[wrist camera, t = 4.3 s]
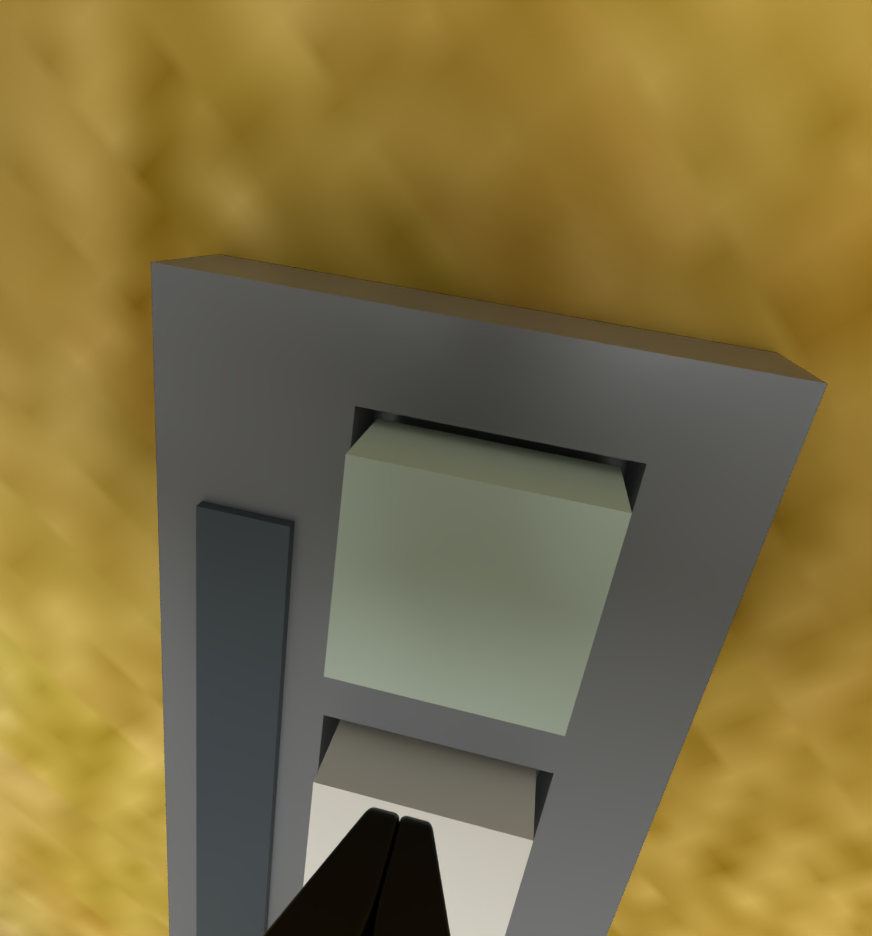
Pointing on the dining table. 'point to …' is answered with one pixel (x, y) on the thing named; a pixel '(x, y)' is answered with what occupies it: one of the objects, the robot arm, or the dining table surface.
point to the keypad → (315, 541)
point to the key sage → (472, 572)
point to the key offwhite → (433, 815)
